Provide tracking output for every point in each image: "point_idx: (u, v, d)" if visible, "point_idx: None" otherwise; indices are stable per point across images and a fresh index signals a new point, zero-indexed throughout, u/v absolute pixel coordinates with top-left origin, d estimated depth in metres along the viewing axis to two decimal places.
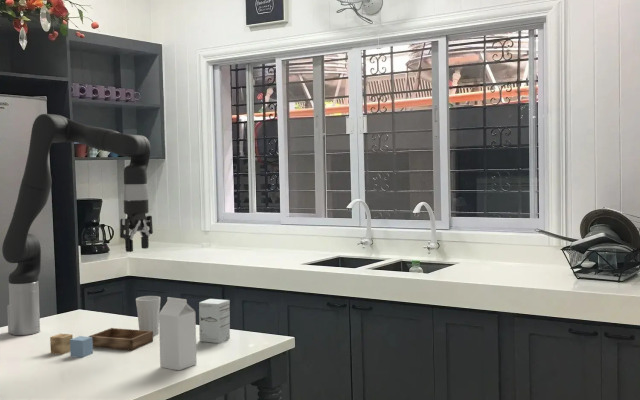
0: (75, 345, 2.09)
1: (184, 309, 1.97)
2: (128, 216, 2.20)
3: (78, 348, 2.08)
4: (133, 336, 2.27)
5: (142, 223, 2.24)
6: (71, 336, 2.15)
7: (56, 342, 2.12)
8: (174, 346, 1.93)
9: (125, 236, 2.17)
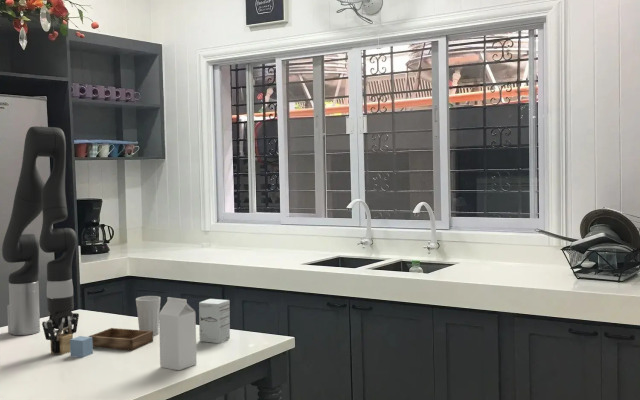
0: (75, 345, 2.09)
1: (184, 309, 1.97)
2: (51, 314, 2.10)
3: (78, 348, 2.08)
4: (133, 336, 2.27)
5: (66, 319, 2.14)
6: (71, 336, 2.15)
7: None
8: (174, 346, 1.93)
9: (51, 339, 2.09)
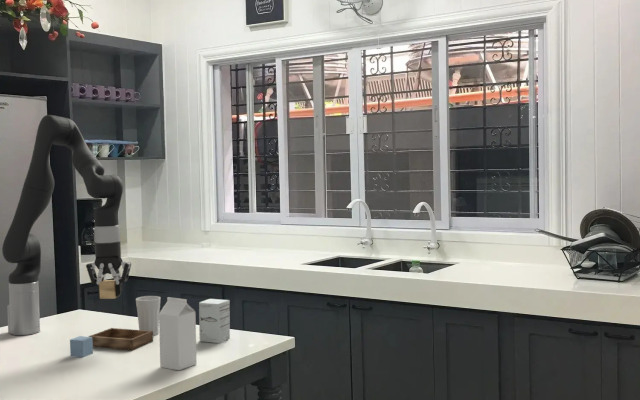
0: (75, 345, 2.09)
1: (184, 309, 1.97)
2: None
3: (78, 348, 2.08)
4: (133, 336, 2.27)
5: None
6: (112, 284, 2.14)
7: None
8: (174, 346, 1.93)
9: None
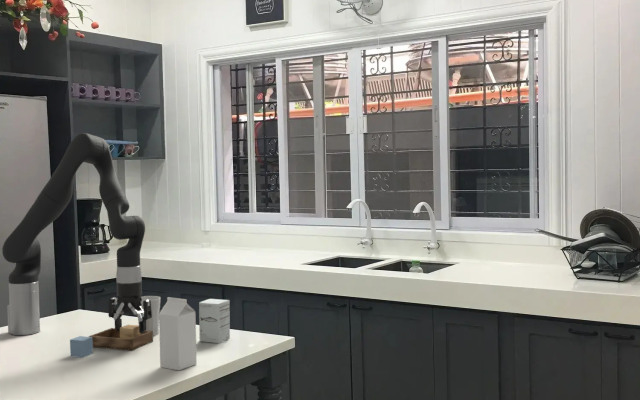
0: (75, 345, 2.09)
1: (184, 309, 1.97)
2: None
3: (78, 348, 2.08)
4: None
5: None
6: (131, 330, 2.18)
7: None
8: (174, 346, 1.93)
9: None
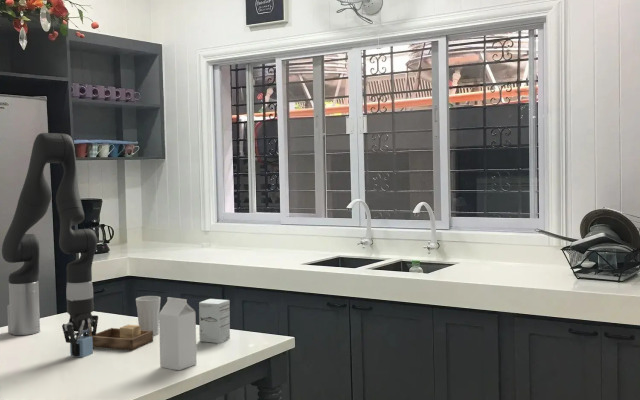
0: None
1: (184, 309, 1.97)
2: (71, 317, 2.07)
3: None
4: None
5: (86, 322, 2.10)
6: (131, 330, 2.18)
7: None
8: (174, 346, 1.93)
9: (71, 342, 2.05)
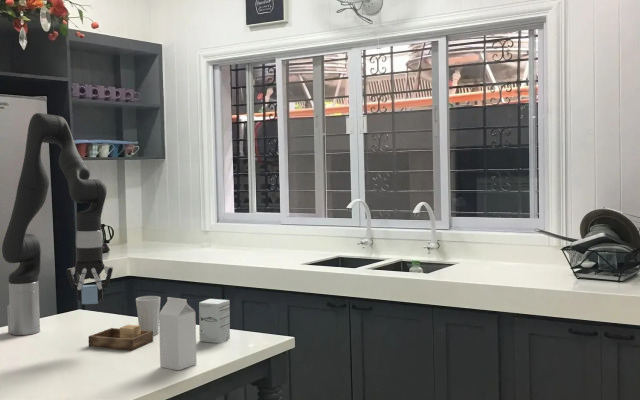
0: None
1: (184, 309, 1.97)
2: (76, 263, 2.14)
3: None
4: None
5: (91, 271, 2.14)
6: (131, 330, 2.18)
7: None
8: (174, 346, 1.93)
9: None
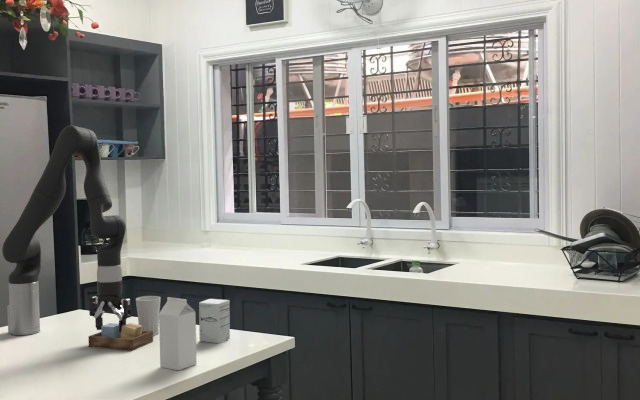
0: None
1: (184, 309, 1.97)
2: None
3: None
4: None
5: None
6: (133, 330, 2.18)
7: None
8: (174, 346, 1.93)
9: None
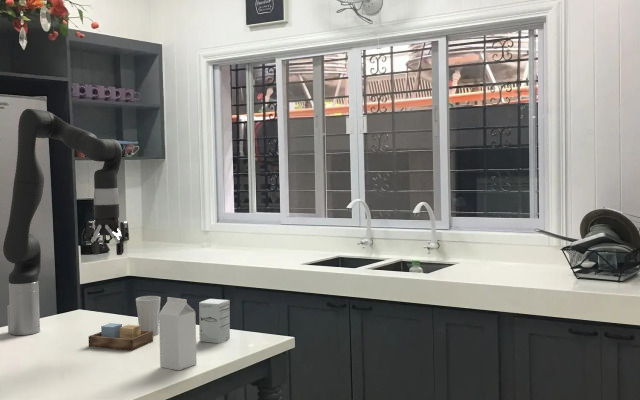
0: None
1: (184, 309, 1.97)
2: None
3: None
4: None
5: None
6: (131, 330, 2.18)
7: None
8: (174, 346, 1.93)
9: None
